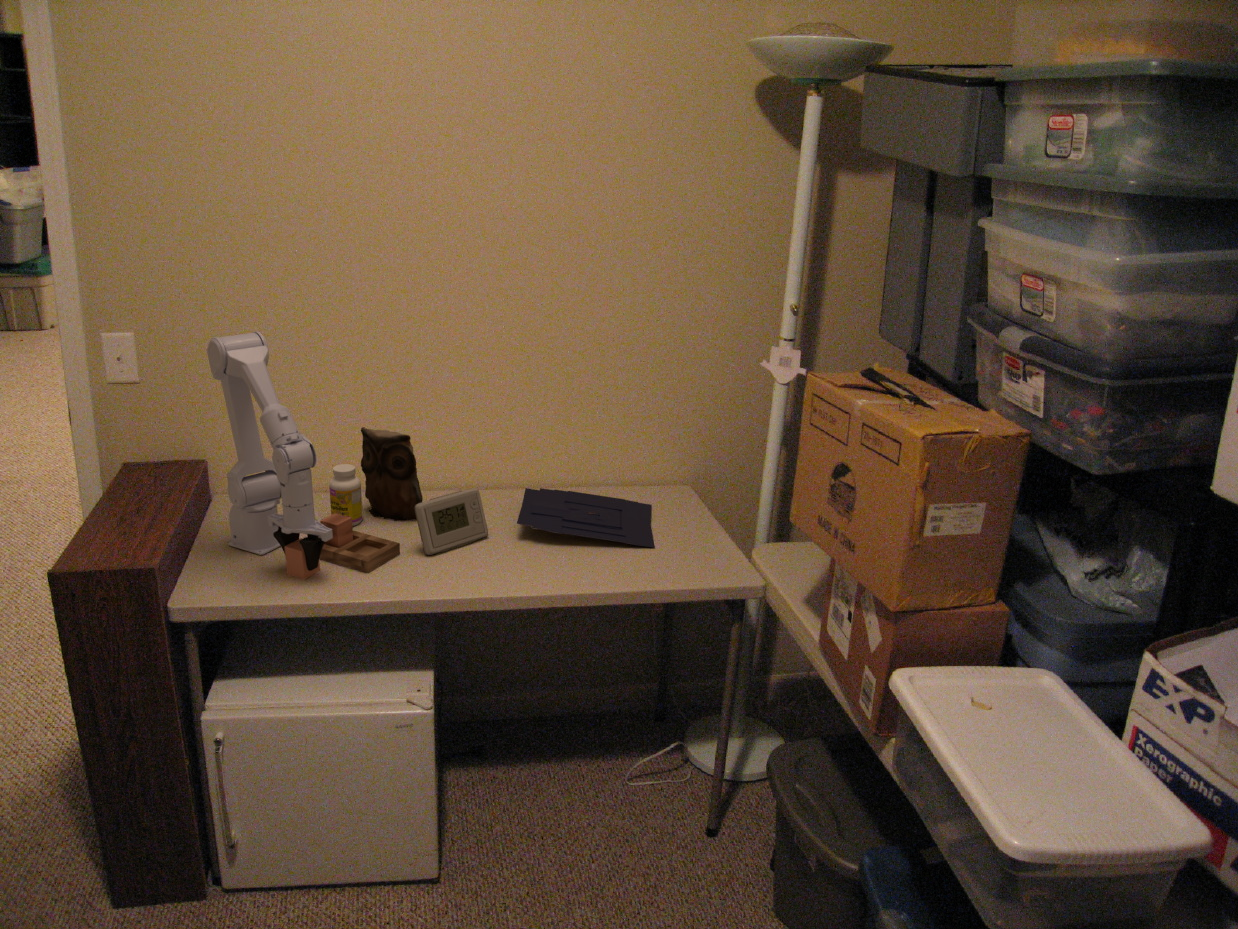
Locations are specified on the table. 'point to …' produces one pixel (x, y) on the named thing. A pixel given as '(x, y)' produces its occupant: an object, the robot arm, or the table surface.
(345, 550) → the walnut base
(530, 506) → the black flat block
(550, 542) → the table surface
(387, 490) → the owl
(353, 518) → the supplement bottle
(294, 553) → the post block
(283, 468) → the robot arm
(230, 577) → the table surface
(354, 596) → the table surface
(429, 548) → the digital clock
